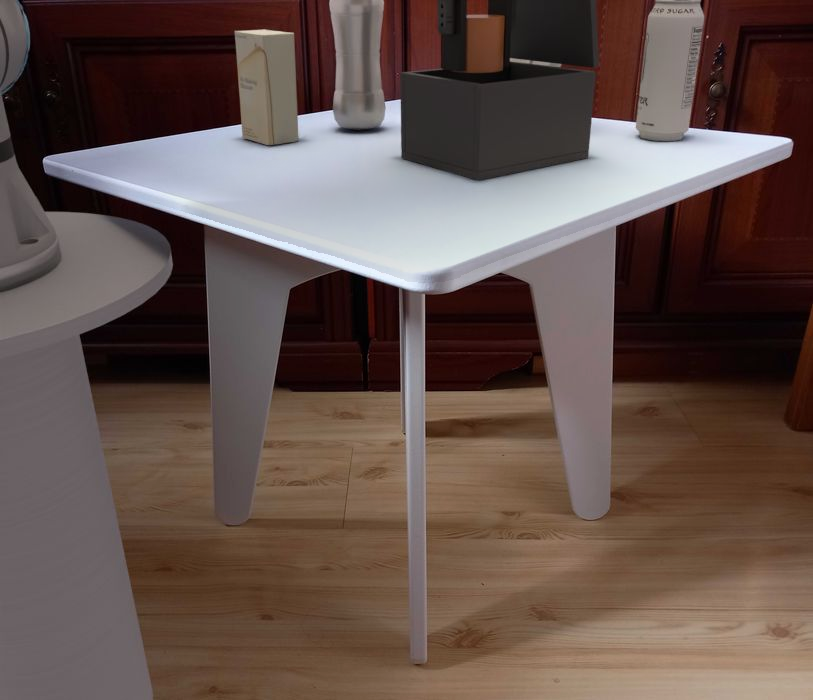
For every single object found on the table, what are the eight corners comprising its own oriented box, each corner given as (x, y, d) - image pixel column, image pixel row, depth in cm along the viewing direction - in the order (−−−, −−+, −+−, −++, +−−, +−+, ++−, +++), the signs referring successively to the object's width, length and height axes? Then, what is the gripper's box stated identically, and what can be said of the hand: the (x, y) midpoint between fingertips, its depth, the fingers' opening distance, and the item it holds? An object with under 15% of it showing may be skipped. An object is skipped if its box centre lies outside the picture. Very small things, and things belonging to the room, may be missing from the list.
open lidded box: (478, 180, 78) (481, 85, 74) (401, 158, 87) (400, 72, 83) (588, 158, 86) (596, 71, 82) (507, 139, 95) (510, 61, 91)
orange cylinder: (474, 74, 77) (475, 18, 75) (440, 70, 81) (440, 16, 79) (513, 70, 80) (515, 15, 78) (479, 65, 84) (480, 14, 82)
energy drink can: (638, 130, 99) (653, -2, 93) (689, 133, 97) (708, -2, 91) (631, 140, 94) (646, 0, 88) (684, 143, 92) (704, 1, 86)
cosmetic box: (241, 139, 97) (231, 30, 92) (272, 133, 100) (264, 28, 94) (270, 146, 93) (261, 33, 87) (302, 141, 95) (295, 31, 90)
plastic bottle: (349, 123, 106) (342, -47, 97) (395, 126, 103) (392, -47, 94) (323, 131, 101) (314, -47, 92) (371, 135, 98) (366, -48, 89)
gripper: (427, -232, 63) (427, 79, 73) (586, -209, 73) (567, 63, 83) (373, -216, 68) (380, 71, 78) (527, -196, 78) (516, 57, 88)
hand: (476, 67), depth 81 cm, fingers closed on orange cylinder, 5 cm apart
